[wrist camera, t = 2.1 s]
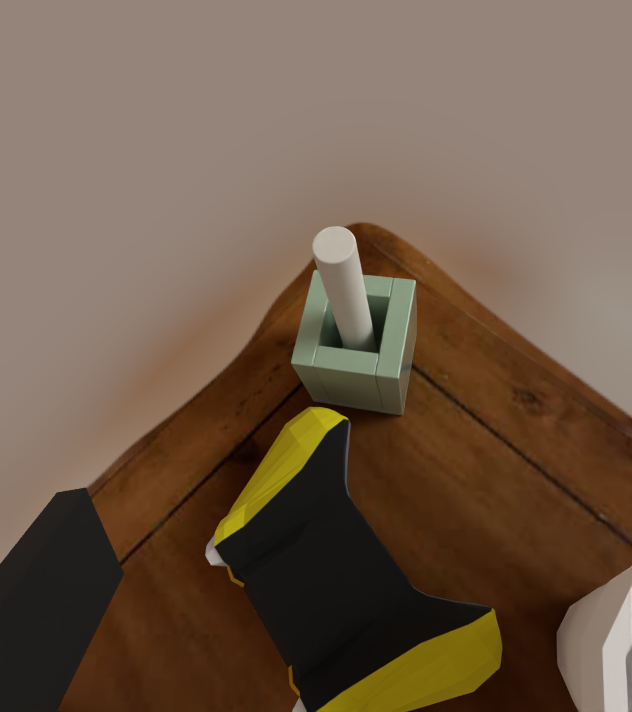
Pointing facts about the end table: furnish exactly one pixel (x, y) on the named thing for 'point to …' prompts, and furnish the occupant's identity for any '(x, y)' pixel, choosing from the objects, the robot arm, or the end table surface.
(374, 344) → the white peg
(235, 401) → the end table surface
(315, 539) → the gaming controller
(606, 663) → the foam cup
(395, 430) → the end table surface
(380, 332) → the pen holder
